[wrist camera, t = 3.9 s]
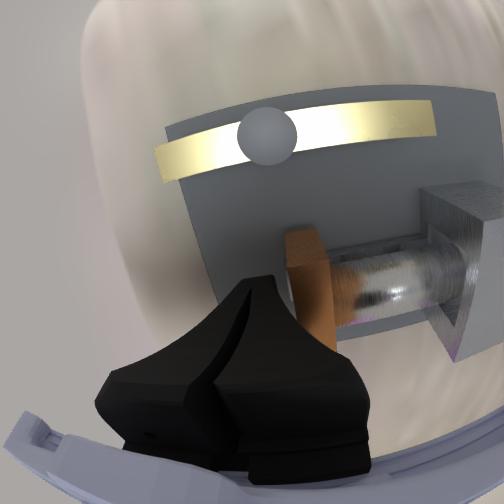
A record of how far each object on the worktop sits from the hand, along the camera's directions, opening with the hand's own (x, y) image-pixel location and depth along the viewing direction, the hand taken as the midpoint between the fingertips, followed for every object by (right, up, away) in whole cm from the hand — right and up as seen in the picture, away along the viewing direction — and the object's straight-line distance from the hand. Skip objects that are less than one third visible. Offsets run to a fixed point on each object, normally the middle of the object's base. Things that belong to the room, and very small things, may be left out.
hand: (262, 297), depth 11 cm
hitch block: (+7, +2, 0) cm, 8 cm away
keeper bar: (+1, +6, -2) cm, 7 cm away
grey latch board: (+5, +3, 0) cm, 6 cm away
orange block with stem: (+5, +1, 0) cm, 5 cm away
